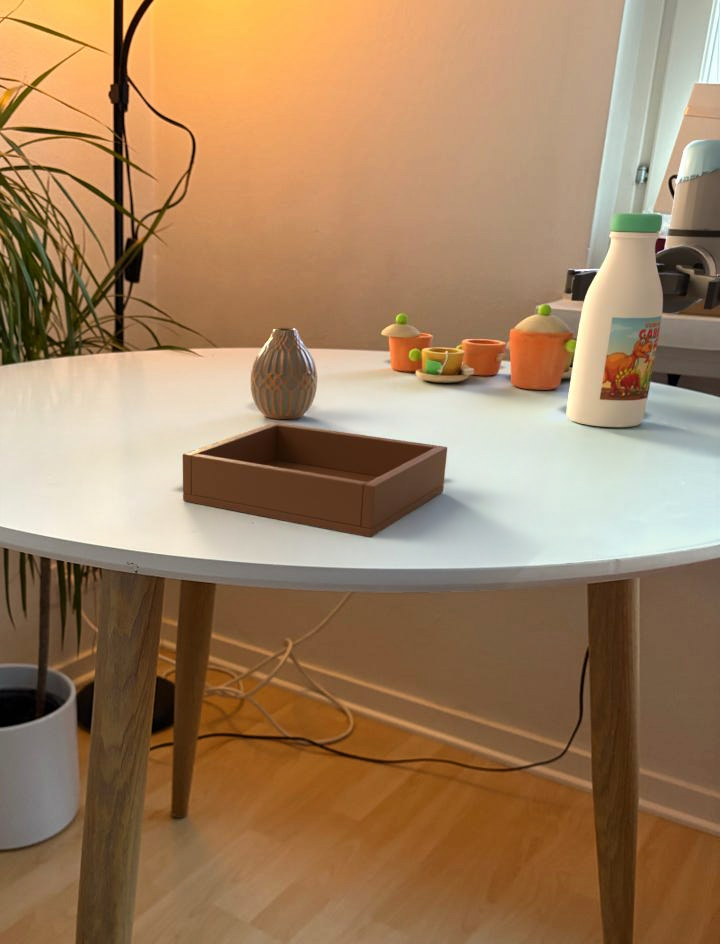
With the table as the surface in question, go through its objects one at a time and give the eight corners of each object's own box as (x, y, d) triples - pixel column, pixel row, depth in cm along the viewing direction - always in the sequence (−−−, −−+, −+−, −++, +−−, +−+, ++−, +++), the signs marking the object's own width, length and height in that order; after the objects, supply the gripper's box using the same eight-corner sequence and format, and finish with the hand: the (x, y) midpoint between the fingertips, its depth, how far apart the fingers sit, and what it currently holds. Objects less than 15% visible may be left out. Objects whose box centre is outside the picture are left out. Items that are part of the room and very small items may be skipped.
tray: (443, 491, 78) (447, 446, 76) (370, 537, 67) (374, 486, 66) (272, 463, 85) (273, 422, 84) (182, 500, 75) (182, 454, 73)
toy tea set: (581, 374, 130) (593, 297, 126) (585, 395, 117) (598, 309, 113) (385, 363, 137) (390, 289, 133) (366, 381, 123) (371, 300, 119)
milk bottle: (564, 425, 101) (596, 213, 92) (565, 411, 107) (595, 212, 99) (644, 431, 99) (684, 214, 90) (640, 416, 105) (677, 213, 97)
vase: (236, 414, 104) (237, 327, 100) (284, 406, 108) (287, 323, 104) (280, 425, 99) (283, 335, 96) (329, 417, 103) (333, 330, 100)
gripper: (782, 318, 117) (762, 337, 100) (570, 304, 129) (521, 319, 112) (798, 250, 114) (779, 259, 97) (579, 242, 125) (529, 248, 109)
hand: (641, 291), depth 105 cm, fingers open, 13 cm apart
